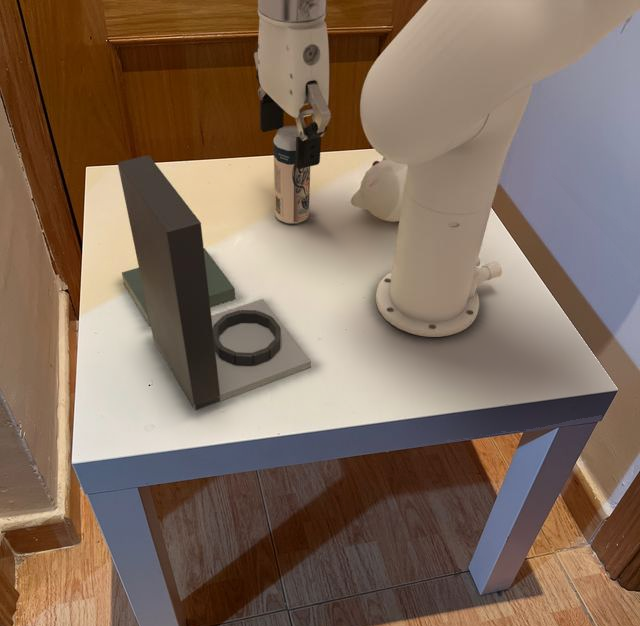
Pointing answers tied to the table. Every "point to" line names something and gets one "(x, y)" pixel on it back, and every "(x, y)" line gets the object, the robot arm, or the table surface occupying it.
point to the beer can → (290, 179)
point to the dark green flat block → (216, 280)
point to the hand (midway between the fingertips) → (289, 147)
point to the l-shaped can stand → (197, 300)
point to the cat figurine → (382, 190)
